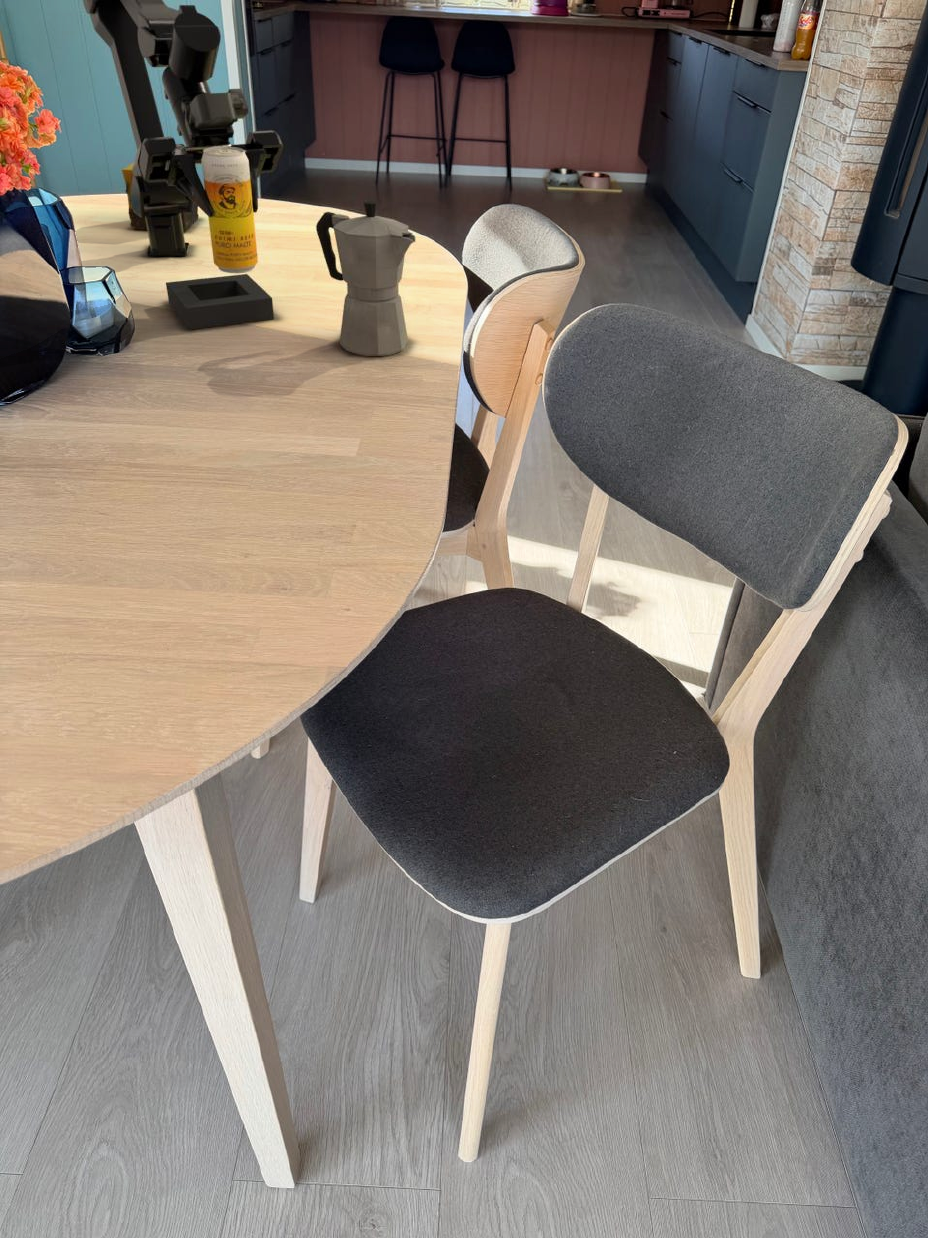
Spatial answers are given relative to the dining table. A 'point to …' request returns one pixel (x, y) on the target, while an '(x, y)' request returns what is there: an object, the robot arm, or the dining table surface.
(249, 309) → the socket pad
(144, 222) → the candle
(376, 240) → the coffeepot
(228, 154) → the beer can
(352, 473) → the dining table surface
